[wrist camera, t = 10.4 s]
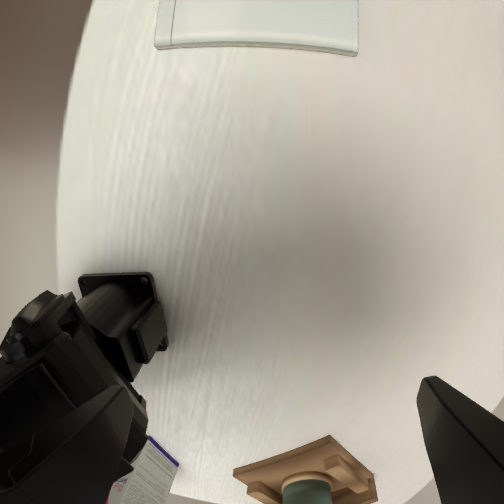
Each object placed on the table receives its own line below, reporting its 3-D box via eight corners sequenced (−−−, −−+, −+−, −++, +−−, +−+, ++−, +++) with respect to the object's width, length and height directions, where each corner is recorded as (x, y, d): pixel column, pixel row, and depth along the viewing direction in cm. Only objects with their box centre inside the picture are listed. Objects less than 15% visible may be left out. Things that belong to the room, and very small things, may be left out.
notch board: (233, 469, 29) (229, 497, 25) (329, 435, 26) (333, 467, 22) (289, 502, 31) (288, 527, 28) (373, 474, 28) (378, 500, 25)
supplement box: (148, 433, 28) (112, 520, 18) (180, 464, 30) (155, 545, 19) (112, 438, 30) (75, 512, 19) (144, 466, 31) (116, 538, 20)
